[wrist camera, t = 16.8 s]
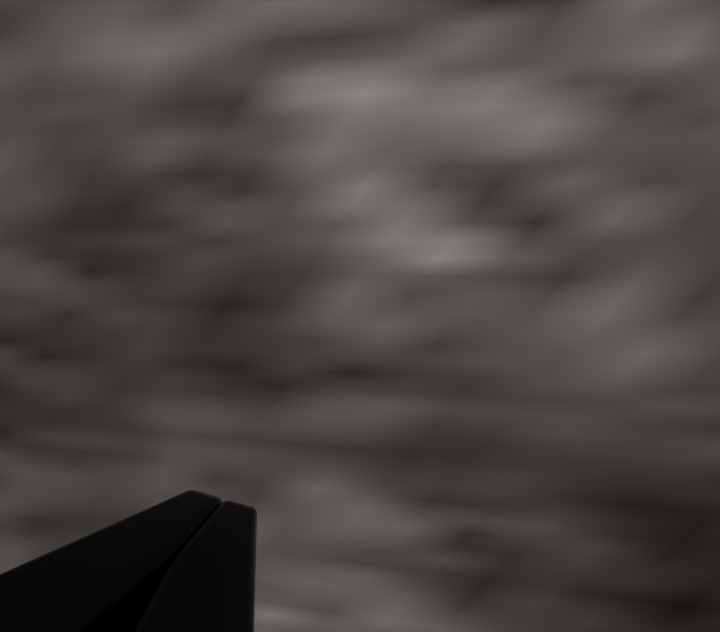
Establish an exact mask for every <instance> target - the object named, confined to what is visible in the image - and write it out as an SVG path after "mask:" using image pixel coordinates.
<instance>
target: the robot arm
mask: <svg viewBox="0 0 720 632" xmlns="http://www.w3.org/2000/svg"><path fill="white" fill-rule="evenodd" d="M256 528H257V512H256V510H255V509H254V508H253V507H250V506H246V505H243V504H240V503H236V502H233V501H224V502H222V500H221V499H220V498H219V497H216V496H212V495H209V494H206V493H202V492H199V491H195V490H189V491H186V492H184V493H181V494H179V495H177V496H175V497H173V498H170V499H168V500H166V501H164V502H161V503H159V504H157V505H155V506H152V507H150V508H148V509H146V510H143V511H141V512H139V513H137V514H134V515H132V516H130V517H128V518H125V519H123V520H121V521H119V522H116V523H114V524H112V525H110V526H108V527H105V528H103V529H101V530H99V531H96V532H94V533H92V534H90V535H87V536H85V537H83V538H81V539H78V540H76V541H74V542H72V543H69V544H67V545H65V546H63V547H60V548H58V549H56V550H54V551H51V552H49V553H47V554H45V555H42V556H40V557H38V558H36V559H34V560H31V561H29V562H27V563H25V564H22V565H20V566H18V567H16V568H13V569H11V570H9V571H7V572H4V573H2V574H0V632H254V605H255V567H256Z"/></svg>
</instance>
